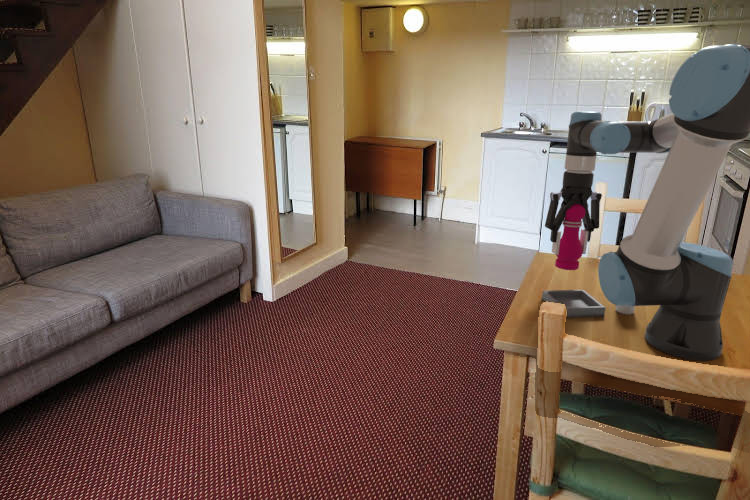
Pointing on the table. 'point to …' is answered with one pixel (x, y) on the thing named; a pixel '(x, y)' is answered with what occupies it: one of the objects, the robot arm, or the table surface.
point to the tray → (575, 302)
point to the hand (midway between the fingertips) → (568, 252)
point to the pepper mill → (571, 239)
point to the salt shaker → (625, 309)
